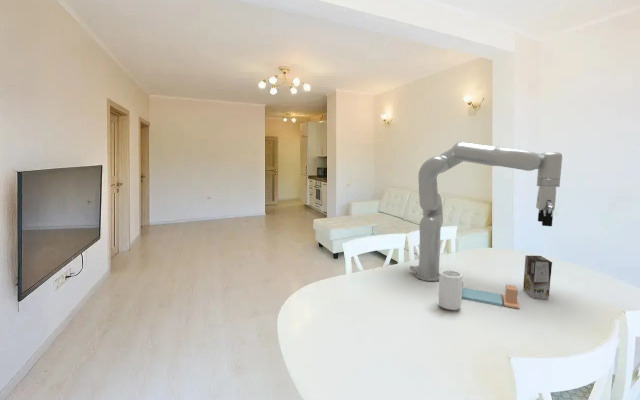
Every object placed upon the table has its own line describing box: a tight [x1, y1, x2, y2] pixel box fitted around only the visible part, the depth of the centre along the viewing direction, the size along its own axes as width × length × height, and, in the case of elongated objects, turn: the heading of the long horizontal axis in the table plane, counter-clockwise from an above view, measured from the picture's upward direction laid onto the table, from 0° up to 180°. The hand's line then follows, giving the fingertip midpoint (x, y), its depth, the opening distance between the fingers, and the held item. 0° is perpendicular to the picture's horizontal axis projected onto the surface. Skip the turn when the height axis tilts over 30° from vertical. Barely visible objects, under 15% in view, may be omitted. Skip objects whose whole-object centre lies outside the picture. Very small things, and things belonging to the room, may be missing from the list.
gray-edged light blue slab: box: [462, 287, 505, 307], centre depth 128 cm, size 18×13×3 cm
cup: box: [438, 269, 464, 311], centre depth 117 cm, size 8×8×14 cm
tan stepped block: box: [502, 284, 520, 310], centre depth 122 cm, size 5×10×6 cm, turn 152°
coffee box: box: [522, 255, 553, 300], centre depth 129 cm, size 9×6×16 cm
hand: (544, 223), depth 125 cm, fingers open, 9 cm apart
